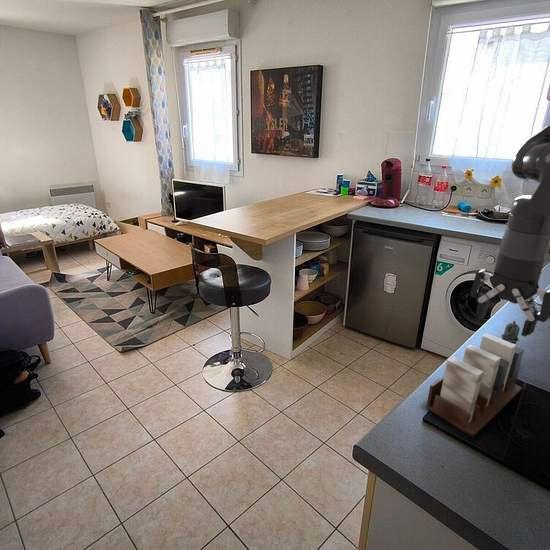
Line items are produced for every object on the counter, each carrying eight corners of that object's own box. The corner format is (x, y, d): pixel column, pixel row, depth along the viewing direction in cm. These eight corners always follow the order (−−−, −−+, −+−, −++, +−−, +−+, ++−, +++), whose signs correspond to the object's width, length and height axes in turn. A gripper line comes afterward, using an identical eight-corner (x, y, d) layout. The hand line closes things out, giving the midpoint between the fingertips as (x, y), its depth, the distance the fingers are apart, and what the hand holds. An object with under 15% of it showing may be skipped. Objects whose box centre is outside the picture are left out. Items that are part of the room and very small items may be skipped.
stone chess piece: (522, 367, 88) (535, 324, 83) (503, 372, 87) (515, 329, 82) (502, 354, 93) (513, 313, 89) (484, 358, 92) (494, 316, 87)
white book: (503, 391, 79) (516, 345, 75) (499, 395, 78) (512, 348, 74) (476, 377, 84) (486, 332, 79) (471, 380, 83) (482, 335, 78)
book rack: (521, 390, 81) (536, 341, 76) (473, 437, 69) (487, 383, 64) (476, 368, 88) (487, 322, 83) (425, 407, 76) (434, 357, 72)
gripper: (574, 258, 66) (548, 334, 72) (492, 239, 76) (476, 307, 83) (558, 267, 62) (533, 348, 68) (474, 246, 72) (459, 317, 79)
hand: (502, 325), depth 75 cm, fingers open, 8 cm apart
